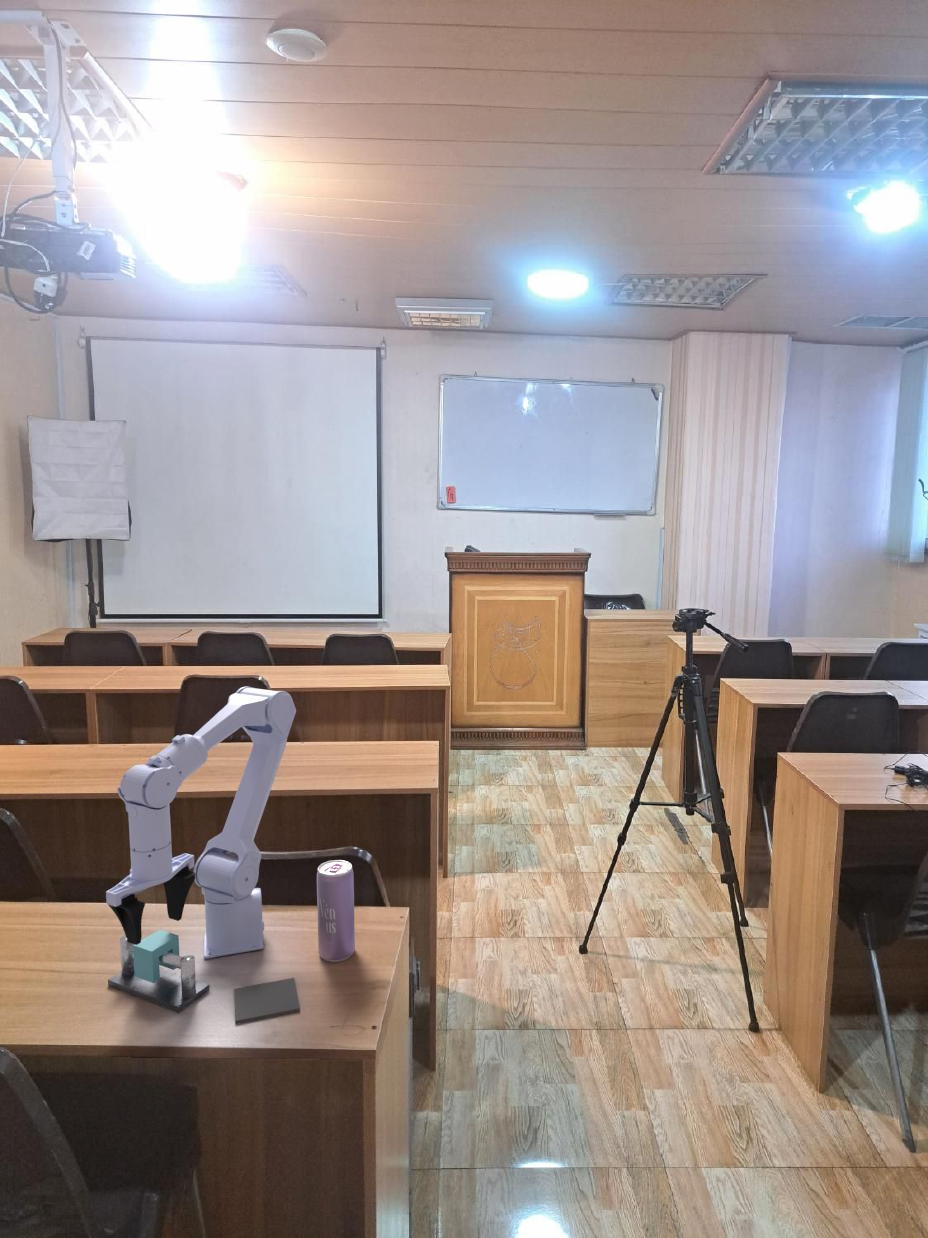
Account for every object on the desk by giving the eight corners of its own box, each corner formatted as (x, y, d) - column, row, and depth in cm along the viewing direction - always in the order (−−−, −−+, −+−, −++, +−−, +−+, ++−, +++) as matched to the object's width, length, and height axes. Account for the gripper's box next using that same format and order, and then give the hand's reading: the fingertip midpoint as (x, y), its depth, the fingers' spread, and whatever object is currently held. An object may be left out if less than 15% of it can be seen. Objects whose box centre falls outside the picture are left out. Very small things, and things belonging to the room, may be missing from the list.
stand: (140, 966, 119) (138, 927, 119) (209, 990, 113) (207, 950, 112) (108, 986, 114) (105, 946, 113) (178, 1013, 107) (176, 971, 107)
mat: (294, 980, 115) (294, 977, 115) (299, 1011, 108) (299, 1008, 108) (234, 992, 112) (233, 989, 112) (235, 1024, 105) (235, 1021, 105)
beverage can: (361, 947, 125) (359, 862, 123) (344, 966, 119) (342, 877, 117) (329, 941, 126) (327, 857, 125) (311, 960, 121) (309, 872, 119)
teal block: (161, 959, 116) (160, 929, 116) (179, 966, 114) (178, 935, 114) (134, 976, 112) (133, 945, 111) (153, 983, 110) (151, 951, 109)
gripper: (170, 823, 119) (174, 903, 121) (89, 858, 106) (95, 947, 108) (202, 831, 116) (206, 913, 117) (123, 867, 103) (128, 959, 104)
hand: (155, 930), depth 112 cm, fingers open, 7 cm apart
